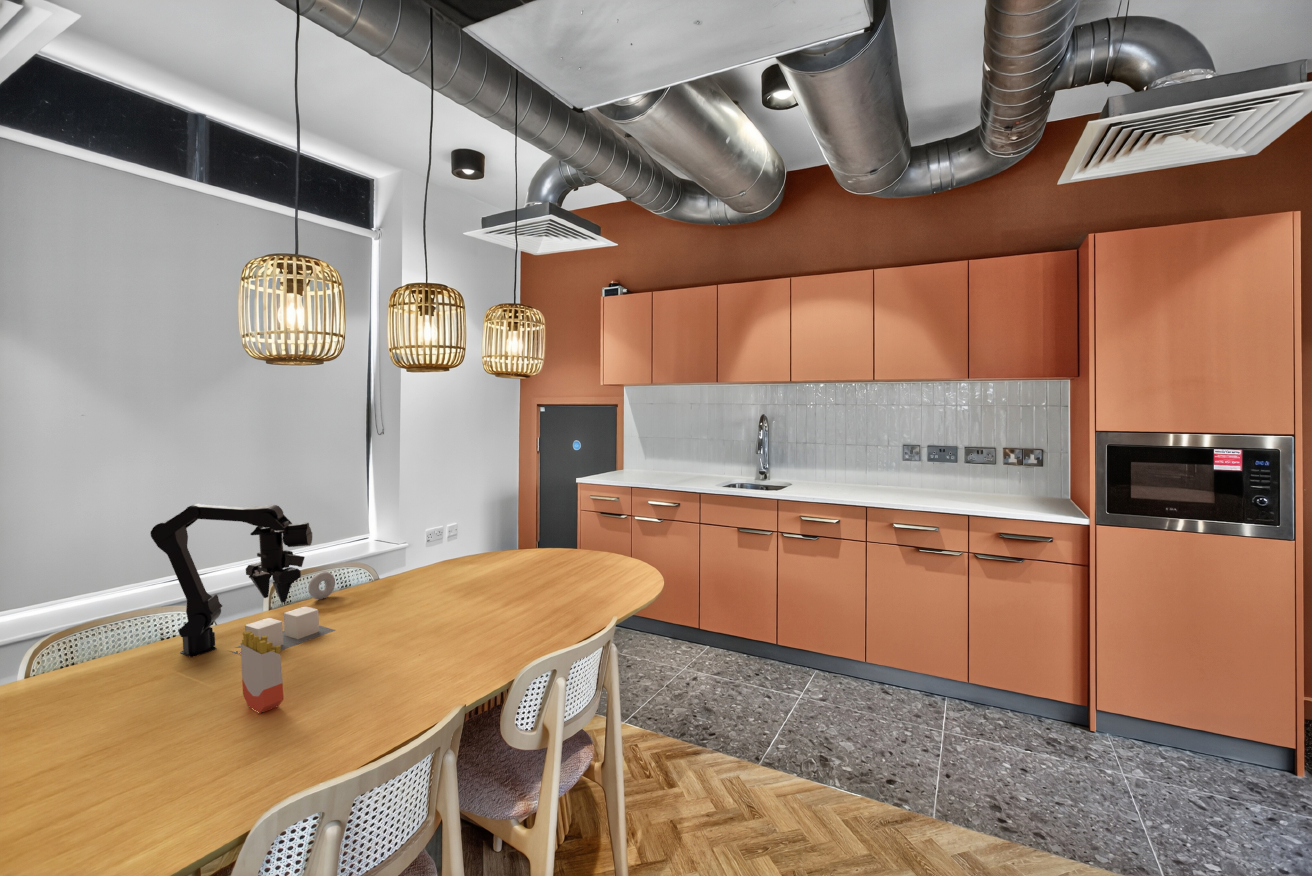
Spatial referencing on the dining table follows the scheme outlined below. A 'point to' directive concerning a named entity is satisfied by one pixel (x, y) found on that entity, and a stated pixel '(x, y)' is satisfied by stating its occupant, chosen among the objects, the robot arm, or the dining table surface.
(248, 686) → the french fries container
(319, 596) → the donut
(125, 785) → the dining table surface
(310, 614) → the closed white box
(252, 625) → the white cube
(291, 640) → the mat
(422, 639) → the dining table surface
